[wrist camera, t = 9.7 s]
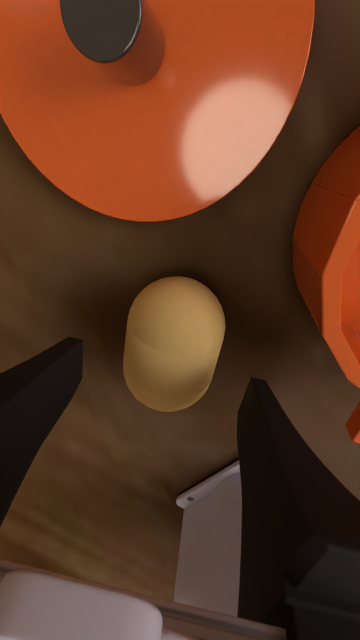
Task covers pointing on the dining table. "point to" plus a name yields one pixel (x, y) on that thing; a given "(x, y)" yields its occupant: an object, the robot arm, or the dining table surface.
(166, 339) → the potato
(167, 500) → the dining table surface
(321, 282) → the pot
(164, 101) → the pot lid
